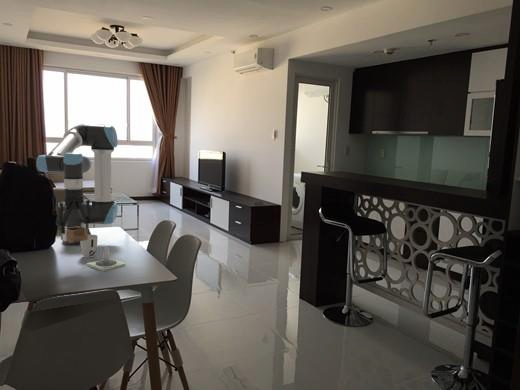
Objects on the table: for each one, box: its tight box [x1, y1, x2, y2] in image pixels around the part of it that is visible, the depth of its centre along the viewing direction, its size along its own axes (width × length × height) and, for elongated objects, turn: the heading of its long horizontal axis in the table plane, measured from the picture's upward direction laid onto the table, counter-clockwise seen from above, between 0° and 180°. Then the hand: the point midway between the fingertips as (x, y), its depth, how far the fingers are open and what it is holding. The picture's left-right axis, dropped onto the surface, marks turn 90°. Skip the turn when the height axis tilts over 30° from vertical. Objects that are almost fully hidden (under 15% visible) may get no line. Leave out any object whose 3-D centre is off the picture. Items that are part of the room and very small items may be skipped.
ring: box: [60, 226, 88, 243], centre depth 189 cm, size 8×8×5 cm
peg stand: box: [86, 246, 126, 272], centre depth 196 cm, size 12×12×8 cm
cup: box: [79, 234, 98, 258], centre depth 209 cm, size 8×8×10 cm
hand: (74, 239), depth 190 cm, fingers closed on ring, 8 cm apart
